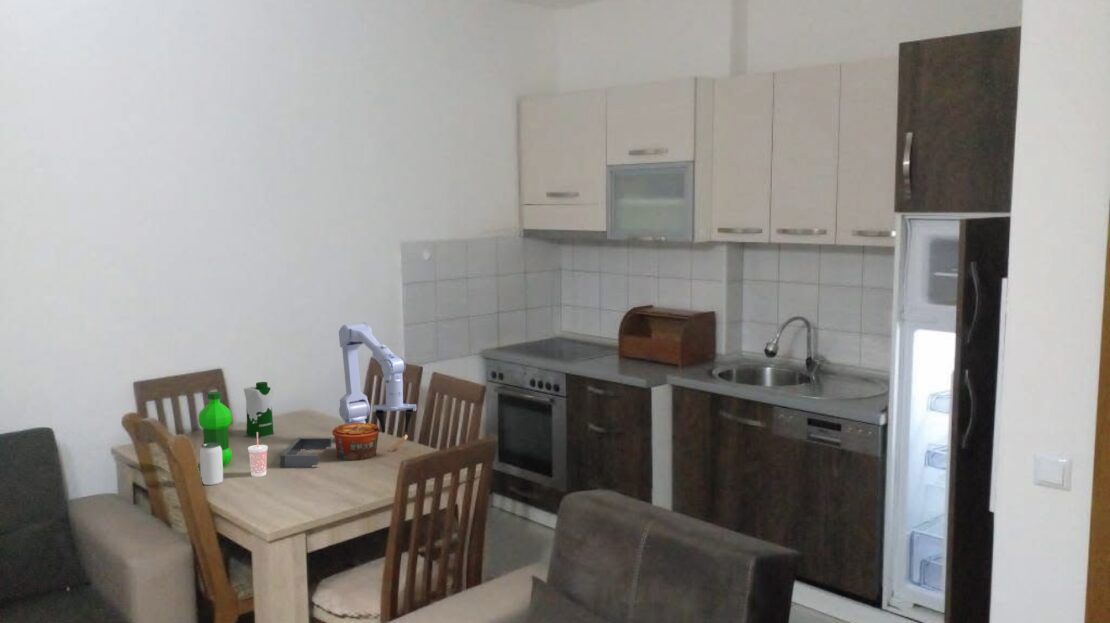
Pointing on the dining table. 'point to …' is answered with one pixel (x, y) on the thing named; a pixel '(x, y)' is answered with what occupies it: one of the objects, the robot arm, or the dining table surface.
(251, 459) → the beverage cup
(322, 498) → the dining table surface
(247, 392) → the milk carton
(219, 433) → the plastic bottle
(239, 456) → the dining table surface
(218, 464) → the can
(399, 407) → the robot arm
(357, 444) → the food container
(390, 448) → the latch flap
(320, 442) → the tray
